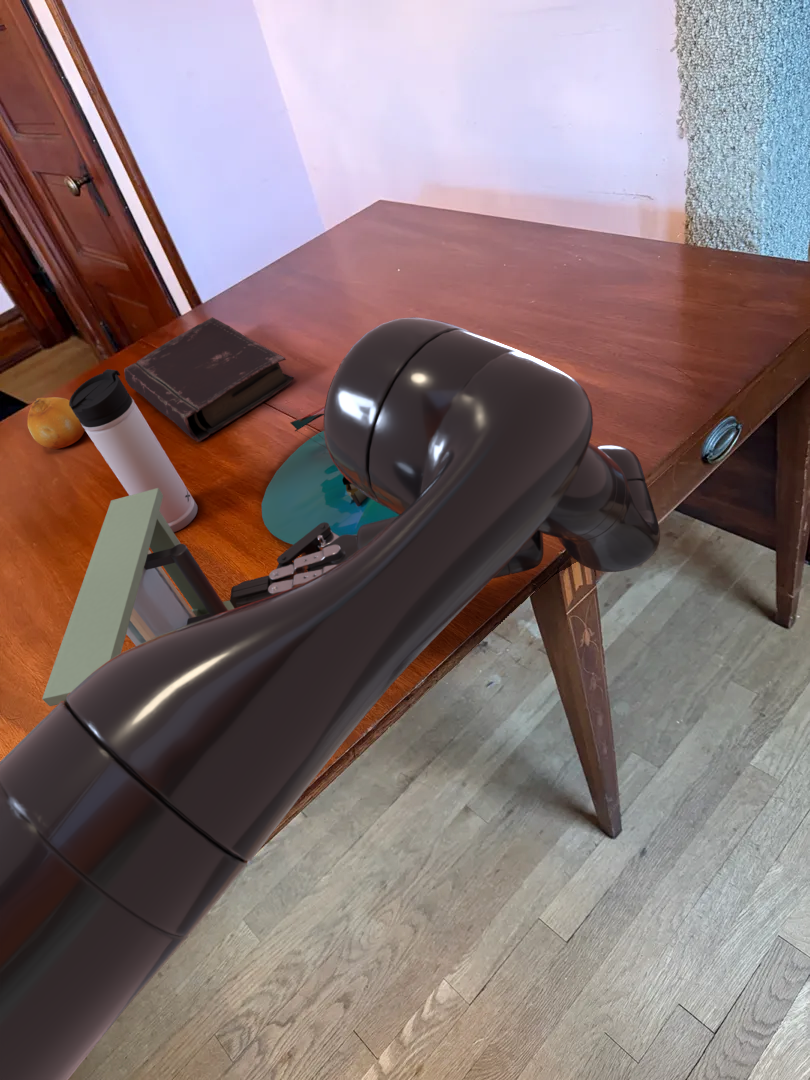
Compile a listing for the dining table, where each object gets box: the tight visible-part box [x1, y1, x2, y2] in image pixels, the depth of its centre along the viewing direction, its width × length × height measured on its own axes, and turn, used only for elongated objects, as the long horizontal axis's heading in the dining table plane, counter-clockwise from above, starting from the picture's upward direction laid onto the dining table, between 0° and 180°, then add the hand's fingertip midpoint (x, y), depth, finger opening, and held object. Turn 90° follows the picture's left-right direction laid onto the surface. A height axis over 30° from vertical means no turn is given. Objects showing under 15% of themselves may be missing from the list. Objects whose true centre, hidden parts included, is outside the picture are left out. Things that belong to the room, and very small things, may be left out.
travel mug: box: [69, 368, 199, 533], centre depth 88 cm, size 6×7×20 cm
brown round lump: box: [26, 396, 86, 450], centre depth 116 cm, size 8×8×8 cm
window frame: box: [41, 488, 235, 707], centre depth 67 cm, size 6×22×17 cm, turn 4°
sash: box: [130, 543, 228, 641], centre depth 69 cm, size 5×8×14 cm, turn 4°
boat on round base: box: [261, 406, 399, 546], centre depth 87 cm, size 28×28×11 cm
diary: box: [123, 316, 295, 443], centre depth 116 cm, size 19×25×5 cm
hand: (234, 600), depth 67 cm, fingers closed
